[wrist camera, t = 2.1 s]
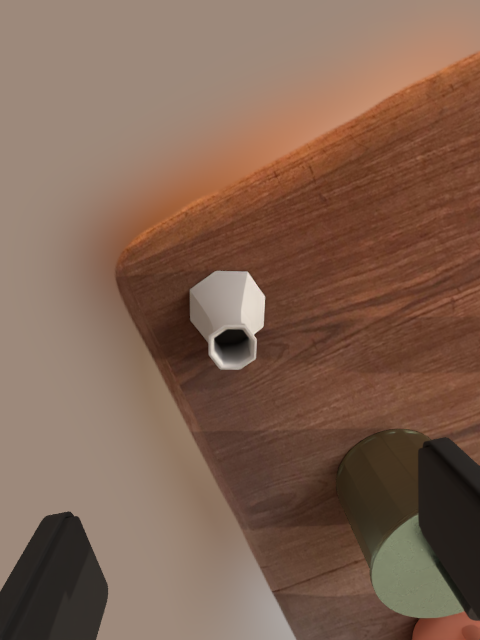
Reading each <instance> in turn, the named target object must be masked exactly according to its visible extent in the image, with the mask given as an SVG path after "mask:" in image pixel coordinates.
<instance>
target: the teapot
mask: <svg viewBox="0 0 480 640" xmlns="http://www.w3.org/2000/svg"><path fill="white" fill-rule="evenodd" d="M412 640H480V621H474V620H471V619H470V618H469V617H468V616H467V614H466V613H465V611H464V612H461V613H458V614H454V615H450V616H446V617H439V618H420V619H419V620H418V622H417V623H416V625H415V627H414V630H413V636H412Z"/></svg>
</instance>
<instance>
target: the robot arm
mask: <svg viewBox="0 0 480 640" xmlns="http://www.w3.org/2000/svg"><path fill="white" fill-rule="evenodd" d="M418 521H419V526H420V529H421V532H422V534H423V536H424V537H425V539H426V540H427V542H428V543H429V545H430V546H431V548H432V549H433V551H434V552H435V554H436V555H437V557H438V558H439V560H440V561H441V563H442V564H443V566H444V567H445V569H446V570H447V572H448V573H449V575H450V577H451V578H452V580H453V581H454V583H455V584H456V586H457V587H458V589H459V590H460V592H461V593H462V595H463V596H464V598H465V599H466V601H467V602H468V604H469V605H470V607H471V608H472V610H473V611H474V613H475V614H476V616H477V617H478V619H479V620H480V466H479V465H478V464H477V463H476V462H474V461H473V460H472V459H471V458H470V457H469V456H468V455H467V454H466V453H465V452H464V451H462V450H461V449H460V448H459V447H458V446H457V445H456V444H455V443H454V442H453V441H452V440H450V439H449V438H446V437H445V438H440V439H434V440H429V441H425V442H424V443H423V448H419V450H418ZM107 598H108V586H107V582H106V580H105V578H104V575H103V573H102V571H101V568H100V566H99V563H98V561H97V559H96V556H95V554H94V552H93V549H92V547H91V545H90V542H89V540H88V538H87V536H86V533H85V530H84V529H83V526H82V524H81V521H80V519H79V517H77V516H74V515H73V514H72V513H71V512H64V513H59V514H53V515H48V516H46V517H45V518H44V519H43V520H42V521H41V523H40V525H39V526H38V528H37V530H36V531H35V533H34V535H33V537H32V538H31V540H30V542H29V543H28V545H27V547H26V548H25V550H24V552H23V554H22V555H21V557H20V559H19V560H18V562H17V564H16V566H15V567H14V569H13V571H12V572H11V574H10V576H9V578H8V579H7V581H6V583H5V585H4V586H3V588H2V590H1V591H0V640H96V637H97V634H98V631H99V627H100V624H101V620H102V616H103V613H104V609H105V606H106V603H107Z"/></svg>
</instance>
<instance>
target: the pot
mask: <svg viewBox="0 0 480 640" xmlns="http://www.w3.org/2000/svg"><path fill="white" fill-rule="evenodd" d="M429 440H431V439H430V438H429V437H427V436H425V435H424V434H422V433H419V432H417V431H413V430H407V429H392V430H386V431H382V432H379V433H376V434H373V435H371V436H369V437H367V438H366V439H364V440H362V441H361V442H359V443H358V444H357V445H355V446H354V447H353V448H352V449H351V450H350V451H349V452H348V454H347V455H346V456H345V457H344V459H343V461H342V462H341V464H340V466H339V469H338V472H337V477H336V489H337V493H338V498H339V500H340V503H341V505H342V507H343V509H344V512H345V514H346V516H347V518H348V521H349V523H350V525H351V528H352V530H353V532H354V534H355V537H356V539H357V541H358V543H359V546H360V548H361V550H362V552H363V555H364V557H365V559H366V561H367V564H368V566H369V568H370V563H371V558H372V555H373V552H374V550H375V548H376V546H377V544H378V543H379V541H380V540H381V538H382V537H383V536H384V534H385V533H386V532H387V531H388V530H389V529H390V528H391V527H392V526H393V525H394V524H395V523H396V522H397V521H399V520H400V519H401V518H403V517H404V516H405V515H407V514H408V513H410V512H412V511H414V510H415V509H417V508H418V450H419V448H423V443H424V442H425V441H429Z"/></svg>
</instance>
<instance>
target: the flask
mask: <svg viewBox="0 0 480 640" xmlns="http://www.w3.org/2000/svg"><path fill="white" fill-rule="evenodd" d="M264 309H265V296H264V295H263V293H262V292H261V290H260V289H259V287H258V286H257V285H256V283H255V282H254V280H253V279H252V277H251V276H250V275H249V273H248V272H238V271H215V272H213V273H212V274H211V275H209V276H208V277H206V278H205V279H204V280H202V281H201V282H200V283H198V284H197V285H195V286H194V287H193V288H191V289H190V321H191V322H192V323H193V324H194V326H195V327H196V328H197V329H198V331H199V332H200V333H201V334H202V336H203V337H204V338H205V339H206V341H207V342H208V343H209V356H210V357H211V359H212V360H213V361H214V362H215V363H216V365H217V366H218V367H219V368H220V369H241V368H243V367H244V366H246V365H247V364H249V363H250V362H252V361H253V360H255V359H256V347H257V339H256V338H255V336H254V334H255V333H256V332H258V331H259V330H260V329H261V328H263V326H264Z"/></svg>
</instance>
